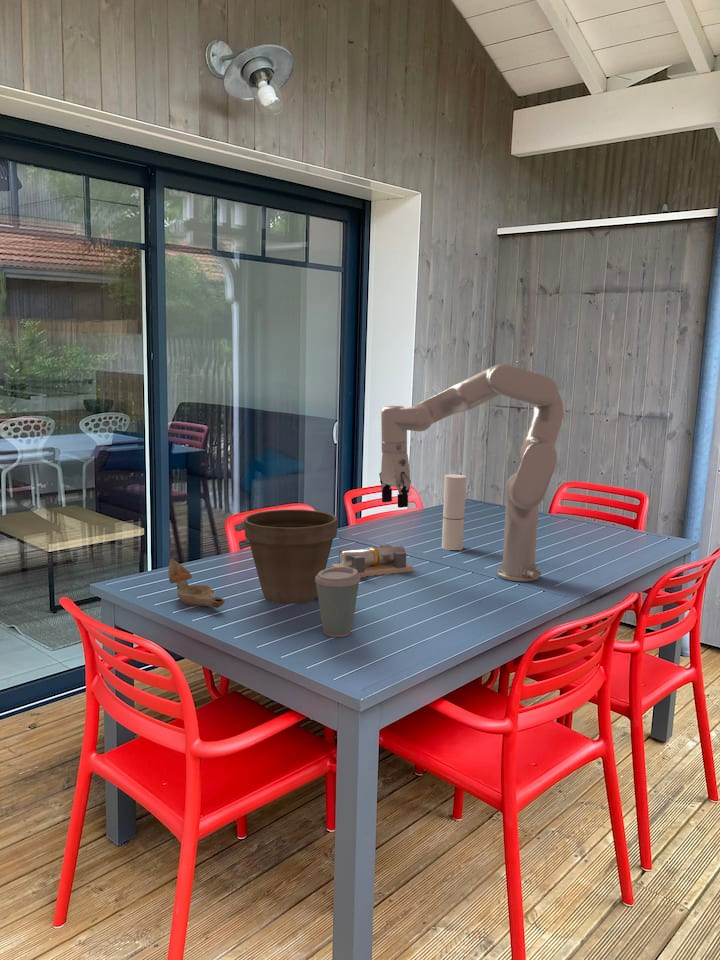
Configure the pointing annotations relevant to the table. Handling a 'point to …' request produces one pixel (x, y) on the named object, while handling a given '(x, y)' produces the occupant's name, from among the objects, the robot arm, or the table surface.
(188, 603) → the oil lamp
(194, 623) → the table surface
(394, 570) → the plate
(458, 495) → the cylindrical container
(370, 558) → the tube
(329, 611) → the disposable coffee cup
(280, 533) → the plant pot
